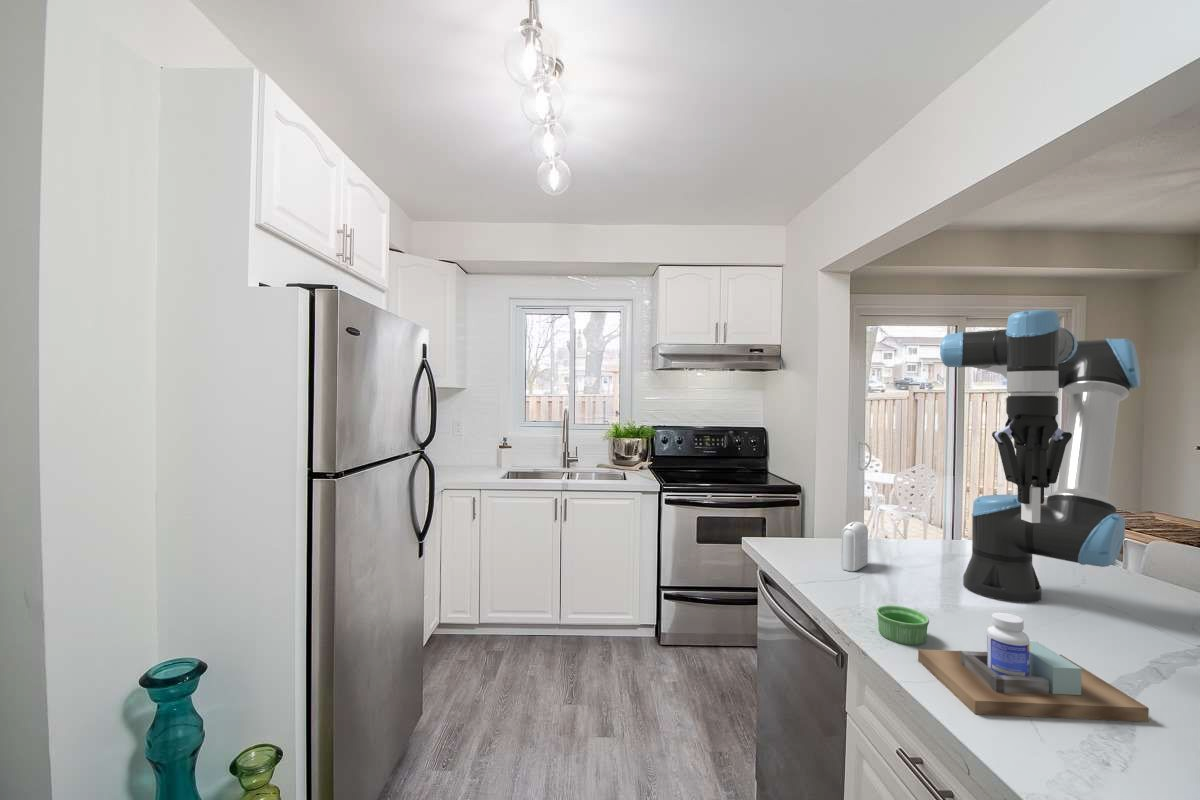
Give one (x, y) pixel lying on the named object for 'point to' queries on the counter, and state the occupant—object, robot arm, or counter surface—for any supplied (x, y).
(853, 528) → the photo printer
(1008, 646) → the pill bottle
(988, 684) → the cradle
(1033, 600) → the robot arm
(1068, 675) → the pale blue rectangular block
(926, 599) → the counter surface
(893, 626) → the ramekin
